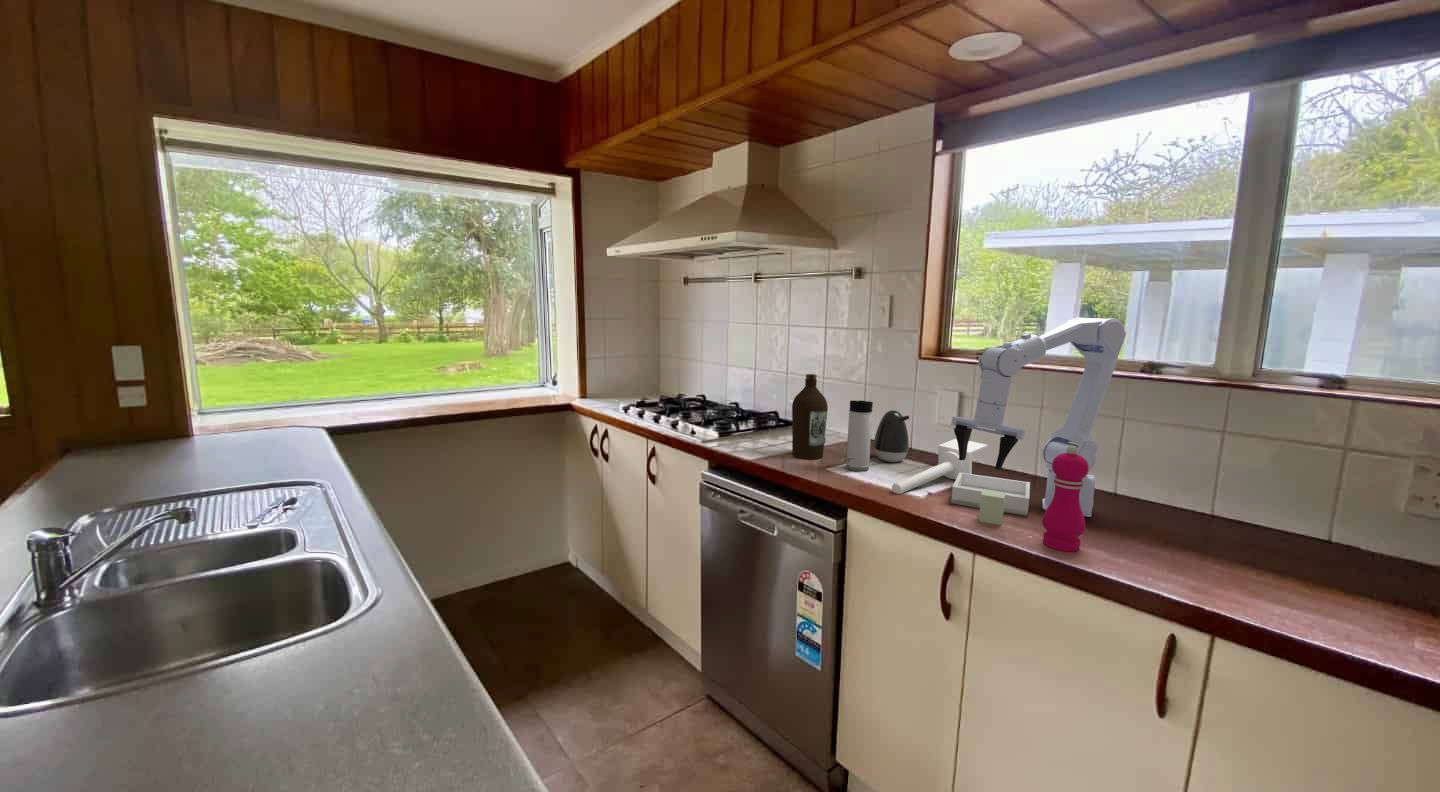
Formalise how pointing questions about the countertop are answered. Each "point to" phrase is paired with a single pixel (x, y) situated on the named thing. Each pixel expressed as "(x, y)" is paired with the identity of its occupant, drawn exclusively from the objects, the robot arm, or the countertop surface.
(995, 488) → the grey bin
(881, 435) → the pump dispenser
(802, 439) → the olive oil
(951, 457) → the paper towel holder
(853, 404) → the travel mug
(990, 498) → the sage block
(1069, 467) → the pepper mill
